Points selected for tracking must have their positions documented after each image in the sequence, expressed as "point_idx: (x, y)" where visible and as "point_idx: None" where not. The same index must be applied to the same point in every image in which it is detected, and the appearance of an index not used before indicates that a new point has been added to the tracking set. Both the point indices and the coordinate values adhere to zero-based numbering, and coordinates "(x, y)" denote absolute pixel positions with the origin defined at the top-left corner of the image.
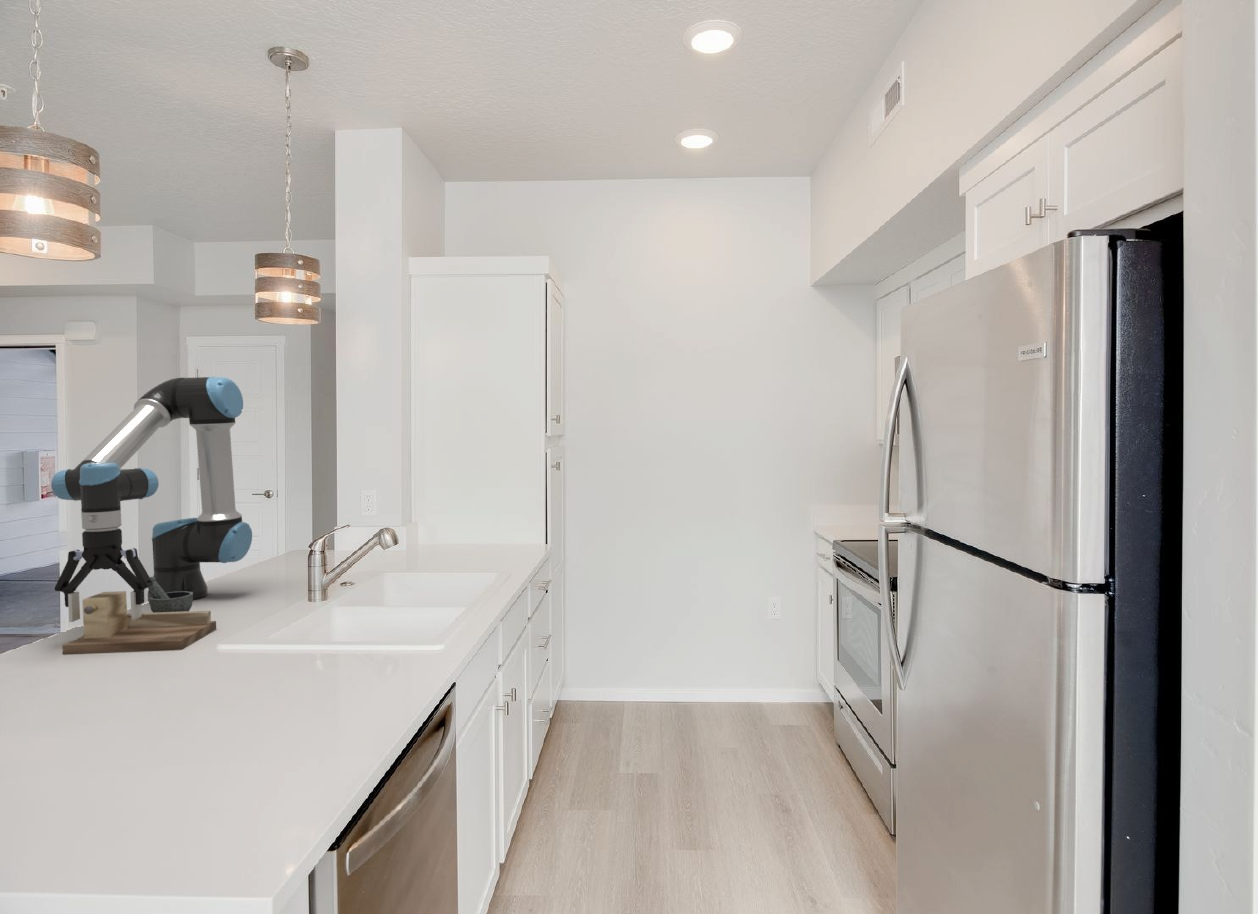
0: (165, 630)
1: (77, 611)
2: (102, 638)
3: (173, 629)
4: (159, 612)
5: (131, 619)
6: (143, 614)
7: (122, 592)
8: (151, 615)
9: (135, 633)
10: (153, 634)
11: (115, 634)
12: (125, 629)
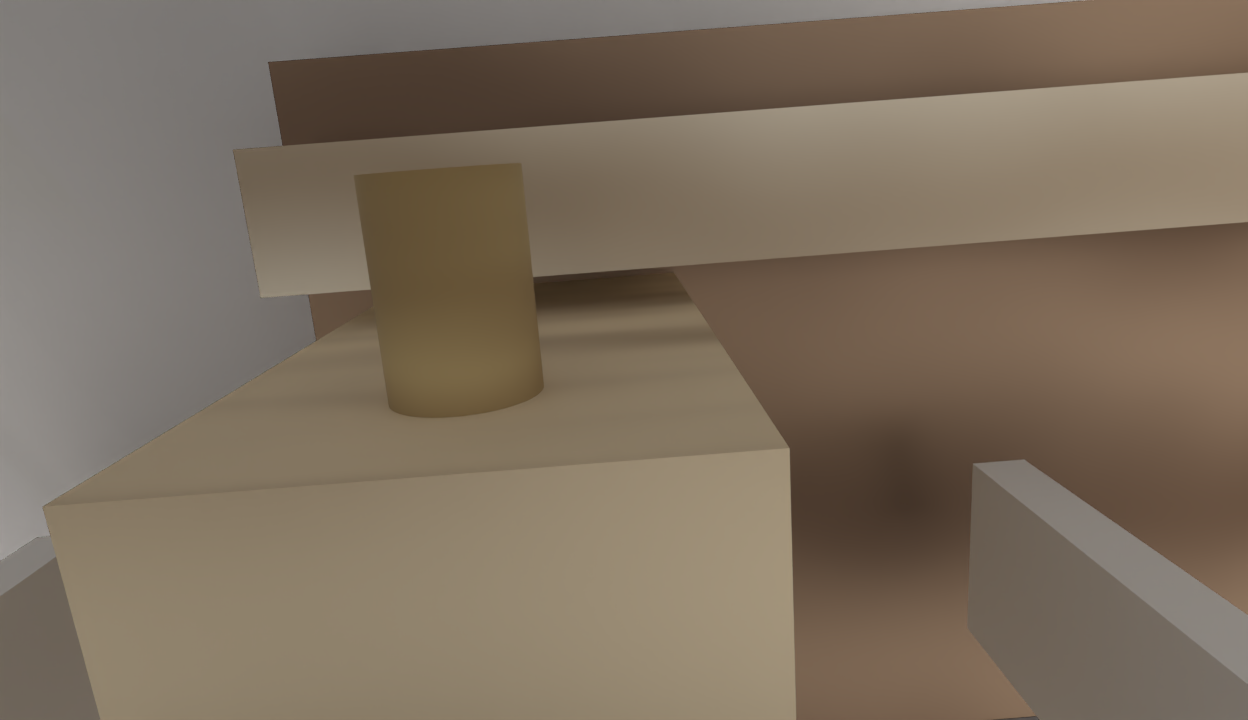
0: (1231, 413)
1: (2, 669)
2: None
3: None
4: (1139, 90)
5: (968, 628)
6: (924, 221)
7: (789, 634)
8: (1055, 231)
9: (923, 517)
10: None
11: None
12: None
